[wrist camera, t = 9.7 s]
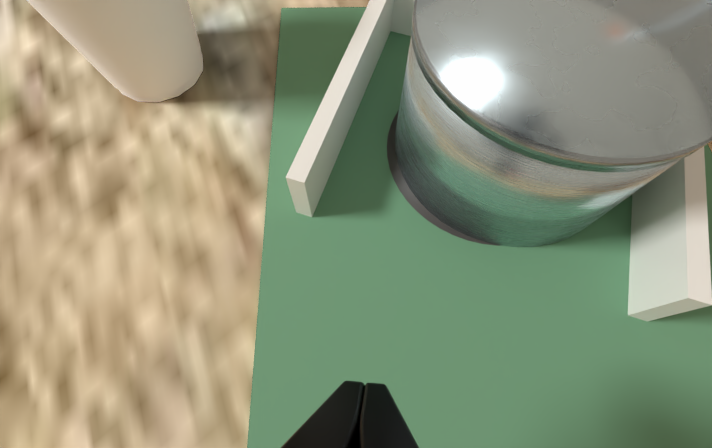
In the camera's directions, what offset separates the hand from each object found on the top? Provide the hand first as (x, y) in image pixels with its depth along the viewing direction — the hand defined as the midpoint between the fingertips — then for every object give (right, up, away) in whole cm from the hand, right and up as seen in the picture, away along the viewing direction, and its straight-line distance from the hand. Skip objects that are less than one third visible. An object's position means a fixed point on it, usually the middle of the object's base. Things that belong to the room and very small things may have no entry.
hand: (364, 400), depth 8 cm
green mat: (+9, +5, +15) cm, 18 cm away
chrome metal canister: (+9, +9, +17) cm, 21 cm away
